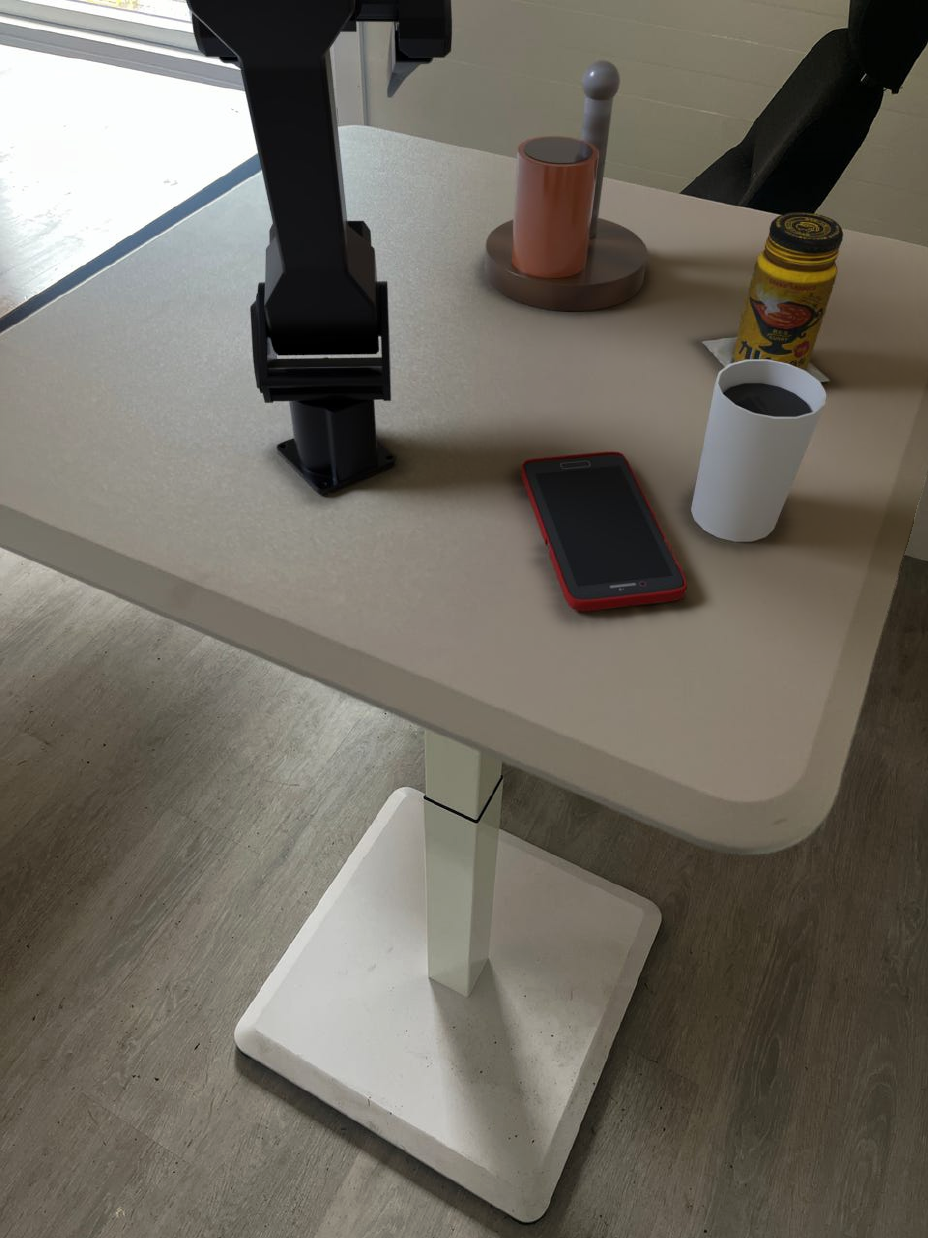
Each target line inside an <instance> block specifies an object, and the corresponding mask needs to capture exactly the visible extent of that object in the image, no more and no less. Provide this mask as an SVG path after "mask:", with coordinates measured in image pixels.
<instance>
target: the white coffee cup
mask: <svg viewBox="0 0 928 1238" xmlns="http://www.w3.org/2000/svg"><path fill="white" fill-rule="evenodd" d="M826 398H827V392H826V390H825V388H824V386H823V385H822V382H820V381H818V380H817V379H816V378H814V377H813V376H812V375H810V374H809V373H808V372H806V371H804V370H802V369H799V368H797V367H795V366H792V365H790V364H787V363H782V362H777V361H772V360H767V359H766V360H743V361H739V362H736V363H732V364H729V365H728V366H726V367H723V368H722V369H721V370H719V371H718V374H717V377H716V380H715V383H714V388H713V394H712V399H711V403H710V404H711V405H710V409H709V415H708V418H707V425H706V428H705V429H706V430H705V435H704V439H703V440H704V441H703V444H702V445H703V446H702V451H701V456H700V460H699V461H700V462H699V466H698V471H697V477H696V481H695V487H694V492H693V496H692V503H691V507H690V511H691V514H692V518H693V520H694V522H695V523H696V524H697V525H698V526H699V527H700V528H701V529H702V530H703V531H704V532H706V533H708V534H710V535H712V536H714V537H716V538H717V539H722V540H725V541H730V542H735V543H744V542H746V543H750V542H751V543H753V542H755V541H758V540H762V539H765V538H767V537H768V536H769V535H770V534H771V533H772V532H773V531H774V530H775V527H776V525H777V523H778V520H779V518H780V516H781V514H782V513H781V512H782V511H783V508H784V505H785V503H786V501H787V498H788V496H789V493H790V491H791V489H792V486H793V483H794V481H795V478H796V476H797V473H798V471H799V469H800V466H801V465H802V461H803V459H804V457H805V455H806V453H807V449H808V447H809V444H810V442H811V439H812V437H813V434H814V432H815V430H816V427H817V424H818V422H819V421H820V416H821V415H822V412H823V410H824V407H825V404H826V400H827V399H826Z"/></svg>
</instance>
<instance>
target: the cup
mask: <svg viewBox="0 0 928 1238" xmlns="http://www.w3.org/2000/svg"><path fill="white" fill-rule="evenodd" d="M516 150H517V151H516V168H515V172H516V173H515V185H514V202H513V219H512V220H513V234H512V251H511V262H512V264H513V265H514V267H516V268H517V269H518V270H519V271H521V272H523V273H526V274H528V275H531V276H535V277H541V278H564V277H569V276H572V275H575V274H577V273H579V272H581V271H582V270H583V269H584V267H585V266H586V260H587V251H588V243H589V235H590V226H591V218H592V209H593V201H594V193H595V184H596V176H597V168H598V159H599V151H598V149H597V148H596V147H595V146H594V145H592V144H590V143H589V142H586V141H583V140H581V138H576V137H572V136H564V135H543V136H536V137H531V138H528V139H526V140H524V141H522V142H521V143H520V144H519V145H518V146H517V149H516Z"/></svg>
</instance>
